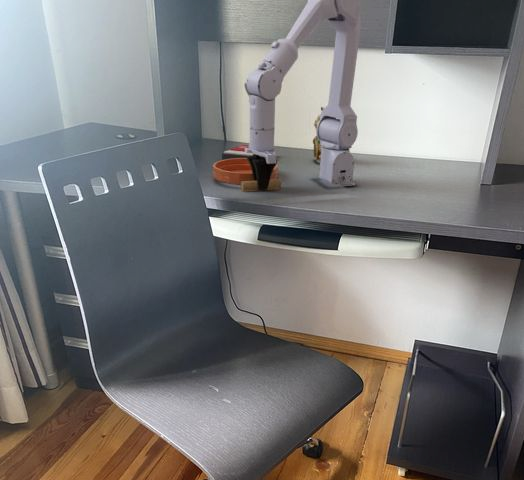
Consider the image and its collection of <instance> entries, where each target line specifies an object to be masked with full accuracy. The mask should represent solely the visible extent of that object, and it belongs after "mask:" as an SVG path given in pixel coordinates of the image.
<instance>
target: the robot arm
mask: <svg viewBox="0 0 524 480" xmlns="http://www.w3.org/2000/svg"><path fill="white" fill-rule="evenodd" d="M361 3H362V0H307V2H306V4H305V6H304V8H302V11H301V12H300V14H299V16H298V17H297V19H296V21H295V22H294V24H293V25H292V27H291V29H290V30H289V32H288V34H287V35H286V37H285V38H279V39H277V40H276V41H273V42H272V43H271V45H270V48H271V49H270V50H269V52H268V53H266V56H265V57H264V59H263V60H262V61H261V60H260V62H259V64H258V68H255V69H253V70H252V71H250V72H249V74H248V75H247V78H246V82H244V84H243V85H244V90H245V93H246V94H247V95H248V103H249V142H248V145H249V148H245V152H246V153H252V154H254V155H253V156H247V159H248V161H249V164H250V166H251V170H252V174H253V179H254V181H257V184H258V189H259V191H267V190H266V189H268V185H269V181H270V177H271V174H272V171H273V169H274V167H275V166H276V164H277V163H278V160H277V154H276V148H275V127H276V126H275V125H276V124H275V123H276V98H277V97H278V95H280V94H281V91H282V86H283V85H282V84H283V81H284V79H285V77H286V76H287V74H288V73H289V72H290V70H291V68H293V66H294V65H295V63H296V62H297V60H298V58H299V51H298V50H299V48H300V47H301V46H302V44H303V43H304V42H305V41H306V40H307V38H308V37H309V36H310V35H311V34H312V33H313V31H314V30H315V29H316V27H317V26H318V24H319V23H320V22H322V21H327V22H329V23H330V25H331V26H332V28H333V29H334V31H335V40H334V41H335V42H334V51H333V59H332V68H331V77H330V84H329V85H330V86H329V95H328V102H327V103H328V104H327V105H326V106H325V107H324V109H323V110H322V111H320V114H321V117H320V121H319V123H318V125H317V128H315V133H316V136H317V137H318V139H319V140H320V145H322V147H321V160H320V163H319V175H318V178H319V179H320V180H324V181H326V182H328V183H329V184H332V185H333V184H339V185H341V186H342V187H353V186H356V183H355V182H353V179H354V168H355V158H354V156H353V154H352V153H351V151H350V149H352V147H353V145H354V144H355V143H356V141H357V138H358V133H359V132H358V131H359V130H358V129H359V128H358V124H357V120H358V115H357V113H356V112H355V111H354V110H353V108H352V106H351V105H352V97H353V89H354V82H355V75H356V74H355V73H356V68H357V67H356V66H357V59H358V50H359V44H360V37H361V28H362V17H361V6H362V5H361ZM277 165H278V164H277Z"/></svg>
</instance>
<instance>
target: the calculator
mask: <svg viewBox="0 0 524 480" xmlns="http://www.w3.org/2000/svg"><path fill="white" fill-rule="evenodd" d="M245 148H249V144H242V145H239V146H236V147H232V148H229V150H225V151H223V152H222V153H221V160H226V159H233V158H247V156H253V155H254V154H252V153H246V152H245Z"/></svg>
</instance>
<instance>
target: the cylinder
mask: <svg viewBox="0 0 524 480" xmlns="http://www.w3.org/2000/svg"><path fill="white" fill-rule="evenodd" d="M281 187H282V181H281V179H280V178H277V179H273V180H270V181H269V185H268V189H266V190H265V191H271V190H280V189H281ZM240 190H241V192H245V193H246V192H259V191H260V190H259V189H258V184H257V181H243V182H241V184H240Z"/></svg>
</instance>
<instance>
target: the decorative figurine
mask: <svg viewBox="0 0 524 480" xmlns="http://www.w3.org/2000/svg"><path fill="white" fill-rule="evenodd" d="M324 108H325V107H324V106H320V110H321V111H320V112H322V110H323V109H324ZM320 117H321V113H320V114H318V116H317V118H315V120H314V123H313V124H314V125H313V126H314V127H315V129H316V128H317V125H318V123H319V121H320ZM312 144H313V157H314V158H315V162H317V164H320V160H321V147H322V145H320V140H319V139H318V137H317V135H315V136H314V137H313V139H312Z"/></svg>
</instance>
